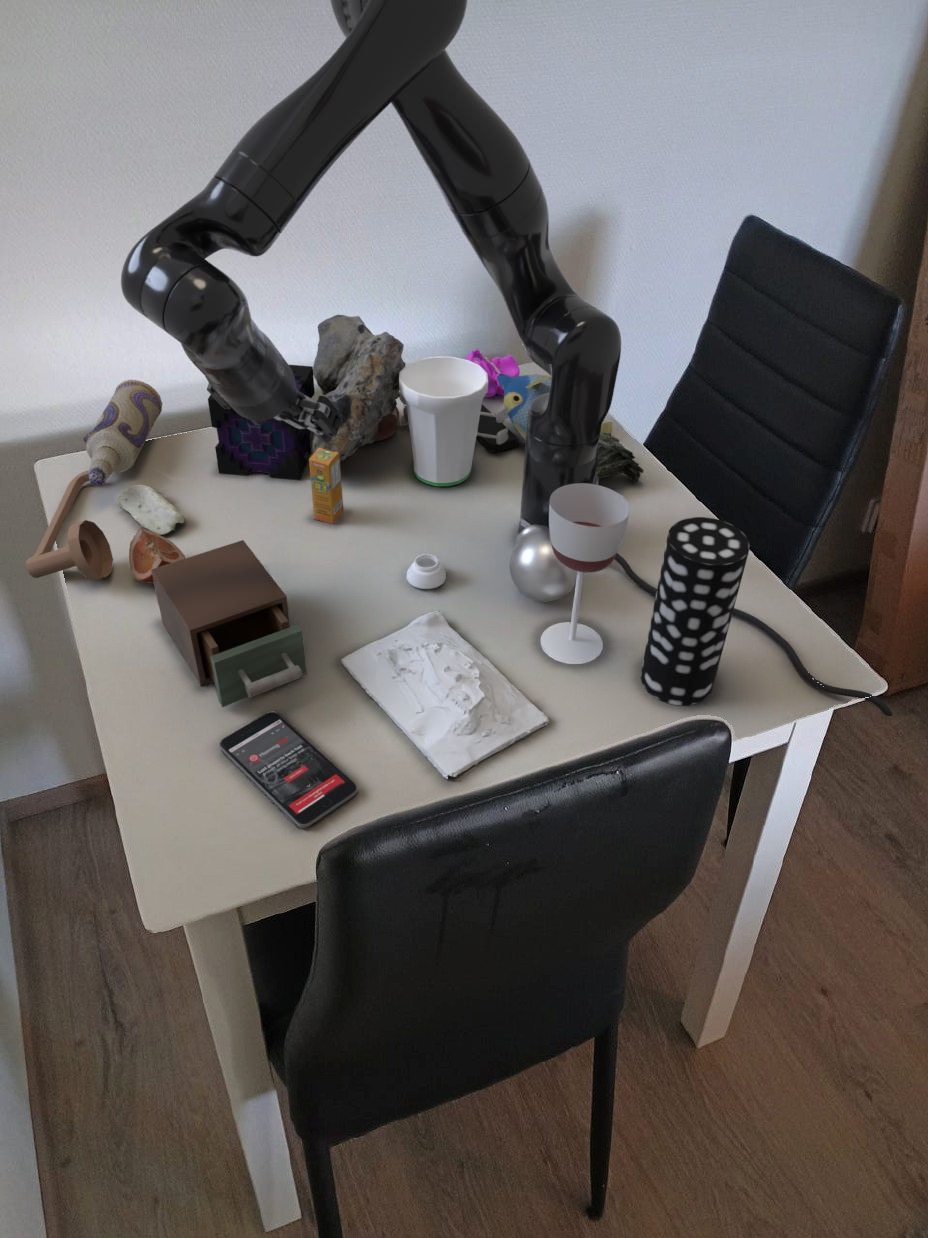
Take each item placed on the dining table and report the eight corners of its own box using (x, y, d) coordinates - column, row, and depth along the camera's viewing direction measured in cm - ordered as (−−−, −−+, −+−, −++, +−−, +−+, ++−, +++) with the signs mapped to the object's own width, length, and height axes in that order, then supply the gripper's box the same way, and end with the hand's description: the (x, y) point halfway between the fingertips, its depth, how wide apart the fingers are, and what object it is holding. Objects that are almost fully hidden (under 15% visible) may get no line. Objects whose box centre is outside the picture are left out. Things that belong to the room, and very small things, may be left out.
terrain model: (428, 618, 125) (427, 585, 122) (566, 712, 112) (569, 678, 109) (321, 679, 116) (317, 646, 113) (457, 789, 103) (457, 754, 100)
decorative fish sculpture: (513, 330, 150) (496, 411, 143) (634, 372, 153) (622, 454, 147) (489, 378, 161) (471, 455, 154) (602, 417, 164) (589, 494, 158)
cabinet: (293, 651, 119) (286, 596, 113) (200, 686, 114) (189, 630, 108) (251, 593, 126) (243, 539, 121) (162, 624, 122) (150, 569, 116)
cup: (500, 465, 150) (505, 371, 140) (454, 504, 142) (457, 407, 132) (430, 440, 155) (431, 347, 145) (383, 476, 147) (380, 381, 137)
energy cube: (318, 438, 155) (312, 366, 147) (299, 480, 146) (292, 406, 138) (242, 431, 156) (232, 359, 148) (219, 473, 147) (207, 399, 139)
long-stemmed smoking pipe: (89, 498, 146) (60, 456, 141) (145, 481, 144) (118, 437, 140) (41, 608, 127) (5, 563, 122) (105, 588, 125) (72, 542, 120)
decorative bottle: (108, 404, 157) (122, 369, 153) (155, 426, 159) (170, 392, 156) (56, 486, 136) (71, 447, 133) (111, 509, 138) (126, 472, 135)
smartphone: (302, 827, 98) (216, 742, 106) (302, 831, 99) (217, 747, 107) (360, 787, 102) (273, 708, 110) (360, 792, 103) (274, 713, 111)
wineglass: (589, 675, 117) (610, 536, 104) (523, 647, 120) (536, 508, 107) (618, 637, 122) (642, 499, 109) (555, 611, 125) (570, 475, 112)
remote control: (519, 449, 155) (473, 402, 164) (520, 439, 153) (473, 392, 163) (491, 456, 153) (446, 408, 162) (491, 446, 152) (446, 398, 161)
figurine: (516, 394, 151) (413, 379, 158) (497, 407, 146) (392, 391, 154) (516, 441, 154) (416, 424, 162) (498, 455, 150) (395, 437, 157)
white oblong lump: (112, 500, 140) (122, 473, 139) (141, 504, 144) (151, 478, 143) (158, 542, 134) (169, 515, 133) (187, 545, 138) (198, 518, 137)
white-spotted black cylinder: (712, 711, 113) (750, 570, 100) (637, 699, 114) (665, 558, 101) (713, 661, 119) (749, 523, 106) (642, 650, 120) (669, 512, 107)
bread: (334, 407, 162) (332, 379, 159) (404, 413, 161) (403, 385, 158) (318, 443, 154) (315, 415, 151) (391, 450, 153) (390, 421, 150)
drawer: (322, 695, 112) (318, 651, 108) (236, 730, 108) (228, 685, 103) (266, 617, 122) (260, 574, 117) (185, 647, 117) (175, 602, 113)
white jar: (453, 579, 129) (427, 562, 132) (454, 561, 128) (427, 544, 130) (425, 596, 127) (398, 578, 129) (425, 578, 125) (398, 560, 127)
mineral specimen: (654, 497, 145) (614, 509, 154) (646, 410, 146) (606, 426, 155) (567, 499, 139) (530, 511, 148) (559, 407, 139) (522, 424, 148)
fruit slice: (123, 563, 130) (115, 532, 127) (174, 548, 133) (167, 517, 129) (144, 600, 125) (136, 568, 121) (196, 583, 127) (190, 551, 124)
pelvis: (531, 361, 167) (520, 400, 170) (482, 343, 170) (472, 381, 173) (497, 367, 157) (486, 408, 160) (446, 347, 160) (437, 387, 163)
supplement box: (312, 520, 139) (306, 457, 132) (323, 507, 141) (319, 445, 134) (333, 526, 138) (329, 463, 131) (345, 513, 140) (341, 450, 134)
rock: (397, 452, 133) (304, 381, 127) (327, 499, 150) (242, 438, 144) (464, 320, 144) (382, 249, 139) (393, 377, 161) (316, 316, 155)
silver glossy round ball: (610, 562, 124) (561, 499, 126) (564, 587, 118) (513, 521, 120) (570, 599, 131) (525, 539, 133) (524, 625, 125) (477, 561, 126)
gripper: (323, 353, 102) (360, 411, 118) (196, 321, 104) (249, 382, 120) (300, 421, 101) (340, 471, 117) (172, 388, 103) (229, 441, 119)
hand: (294, 426), depth 119 cm, fingers open, 8 cm apart
